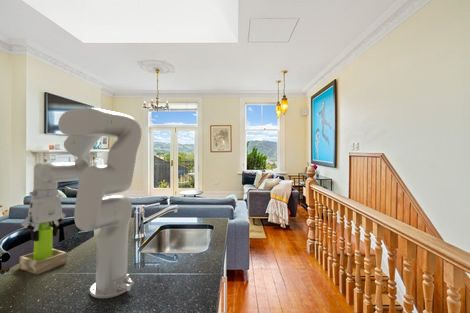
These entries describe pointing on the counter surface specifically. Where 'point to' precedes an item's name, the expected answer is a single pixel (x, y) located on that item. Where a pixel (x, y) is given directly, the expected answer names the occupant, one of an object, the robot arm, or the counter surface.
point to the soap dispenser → (43, 242)
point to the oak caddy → (42, 262)
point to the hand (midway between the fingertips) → (44, 237)
